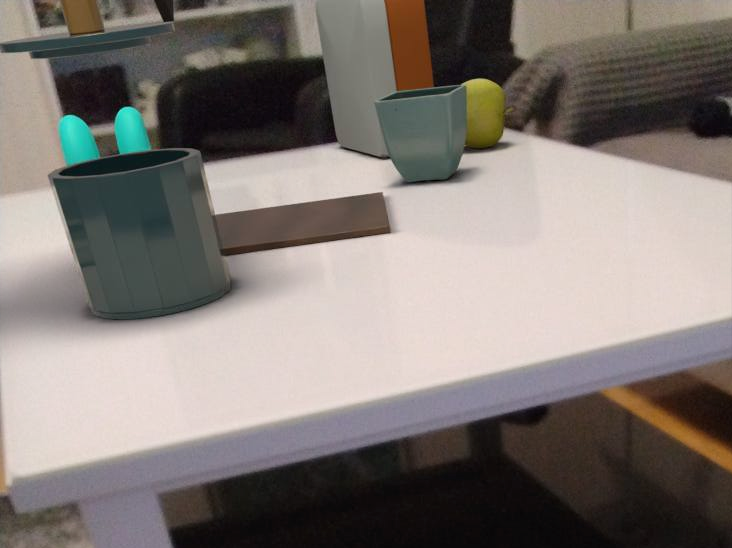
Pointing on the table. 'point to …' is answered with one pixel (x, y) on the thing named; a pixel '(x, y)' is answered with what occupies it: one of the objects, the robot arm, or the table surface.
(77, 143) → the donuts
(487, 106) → the apple
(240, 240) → the board
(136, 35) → the lid
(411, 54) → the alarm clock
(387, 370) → the table surface
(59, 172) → the canister
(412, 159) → the flower pot
